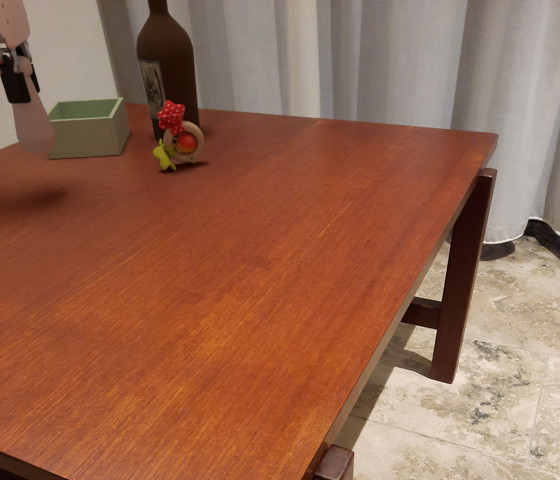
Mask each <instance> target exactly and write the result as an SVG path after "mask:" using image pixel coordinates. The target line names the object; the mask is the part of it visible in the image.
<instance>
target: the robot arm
mask: <svg viewBox="0 0 560 480" xmlns="http://www.w3.org/2000/svg"><path fill="white" fill-rule="evenodd" d="M30 36H31V28H30V23H29V19H28V15H27V10H26V7H25V3H24V0H0V44H4V45H5V47H0V80H1V83H2V86H3V89H4V93H5V96H6V99H7V102H8V104H10V105H12V104H17V103H30V102H31V97H30V94H29V90H28V87H27V83H26V80H25V77H24V73H23V72H20V68H19V64H18V59H17V56H24V57H26V58H27V59H29V61H30V63H31V66H32V70H33V71H32V74H31V75H30V78H31V80H32V82H33V84H34V86H35V88H36V91H37V93H38V94H39V93H40V92H41V88H40V84H39V80H38V77H37V73H36V70H35V66H34V63H33V58H32V54H31V51H30V45H29V42H28V39H29V37H30ZM8 56H10V58H11V60H10V59H9V57H8Z"/></svg>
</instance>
